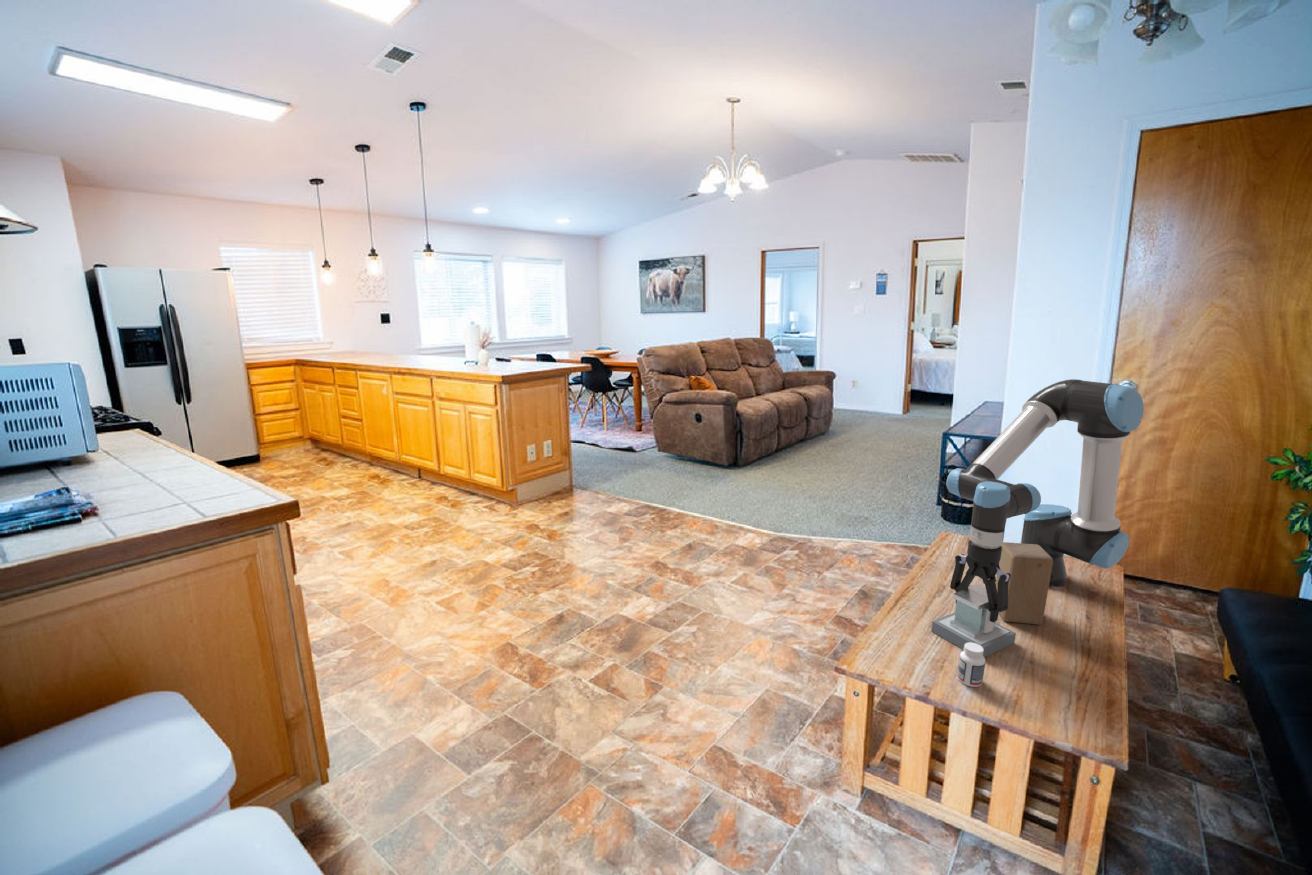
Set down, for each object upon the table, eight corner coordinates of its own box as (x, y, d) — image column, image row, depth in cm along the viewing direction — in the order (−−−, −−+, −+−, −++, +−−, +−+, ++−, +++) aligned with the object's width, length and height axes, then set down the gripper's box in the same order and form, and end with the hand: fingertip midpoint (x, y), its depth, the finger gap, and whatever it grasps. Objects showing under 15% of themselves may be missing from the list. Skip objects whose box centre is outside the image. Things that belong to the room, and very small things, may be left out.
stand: (964, 617, 166) (966, 607, 165) (1014, 643, 154) (1016, 632, 153) (931, 631, 159) (932, 620, 159) (980, 659, 147) (981, 647, 147)
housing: (949, 624, 157) (953, 593, 154) (973, 614, 161) (977, 583, 159) (974, 638, 151) (978, 606, 148) (998, 626, 155) (1003, 595, 153)
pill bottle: (984, 679, 140) (990, 646, 138) (978, 690, 136) (983, 656, 134) (960, 670, 143) (965, 637, 141) (954, 680, 139) (958, 647, 137)
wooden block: (1043, 626, 161) (1055, 558, 156) (1003, 622, 163) (1013, 555, 158) (1028, 607, 171) (1039, 543, 166) (991, 604, 173) (1000, 540, 168)
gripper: (940, 531, 157) (931, 609, 162) (1015, 561, 140) (1002, 647, 145) (959, 526, 160) (949, 602, 166) (1034, 554, 143) (1020, 638, 149)
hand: (974, 623), depth 156 cm, fingers closed on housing, 7 cm apart
